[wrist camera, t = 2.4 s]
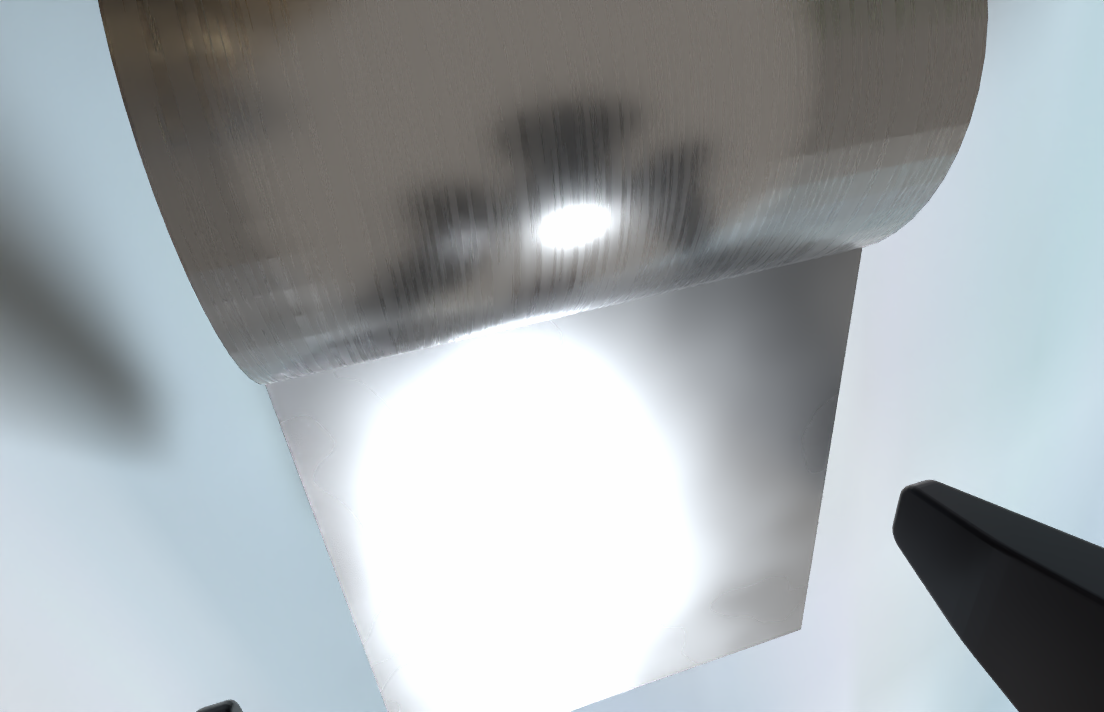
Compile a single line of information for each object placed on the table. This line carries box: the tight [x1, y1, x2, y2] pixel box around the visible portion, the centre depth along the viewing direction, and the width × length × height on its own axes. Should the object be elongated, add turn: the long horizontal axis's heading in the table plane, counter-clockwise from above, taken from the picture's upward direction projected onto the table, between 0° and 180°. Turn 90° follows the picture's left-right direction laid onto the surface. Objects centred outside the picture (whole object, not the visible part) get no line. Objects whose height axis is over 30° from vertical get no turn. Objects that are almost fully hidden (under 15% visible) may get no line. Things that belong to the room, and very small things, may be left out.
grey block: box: [98, 0, 988, 712], centre depth 8 cm, size 10×6×4 cm, turn 5°
